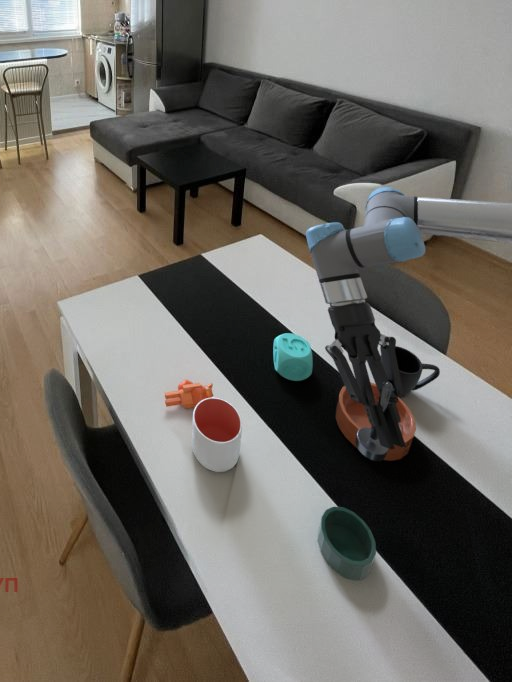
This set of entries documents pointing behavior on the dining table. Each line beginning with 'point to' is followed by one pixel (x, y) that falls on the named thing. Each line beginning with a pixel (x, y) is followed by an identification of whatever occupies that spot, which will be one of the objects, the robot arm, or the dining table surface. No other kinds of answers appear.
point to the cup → (216, 434)
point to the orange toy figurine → (188, 394)
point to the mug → (412, 370)
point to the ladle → (374, 431)
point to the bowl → (355, 418)
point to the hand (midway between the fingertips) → (393, 445)
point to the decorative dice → (292, 357)
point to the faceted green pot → (346, 543)
